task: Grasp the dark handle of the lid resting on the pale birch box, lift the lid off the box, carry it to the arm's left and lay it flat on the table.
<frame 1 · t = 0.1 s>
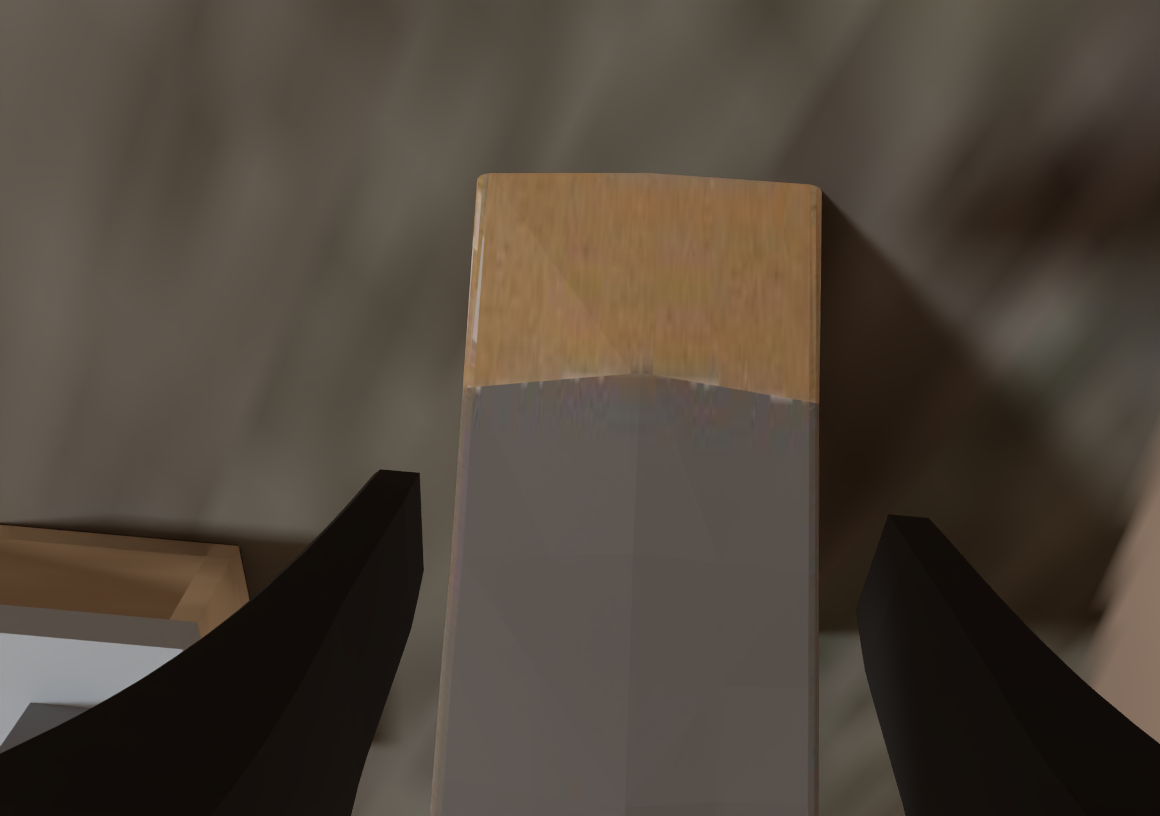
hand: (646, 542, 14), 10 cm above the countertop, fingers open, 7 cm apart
sandwich container: (634, 430, 26), on the countertop
box: (145, 642, 31), on the countertop
lid: (99, 720, 29), point 3 cm above the countertop, touching box
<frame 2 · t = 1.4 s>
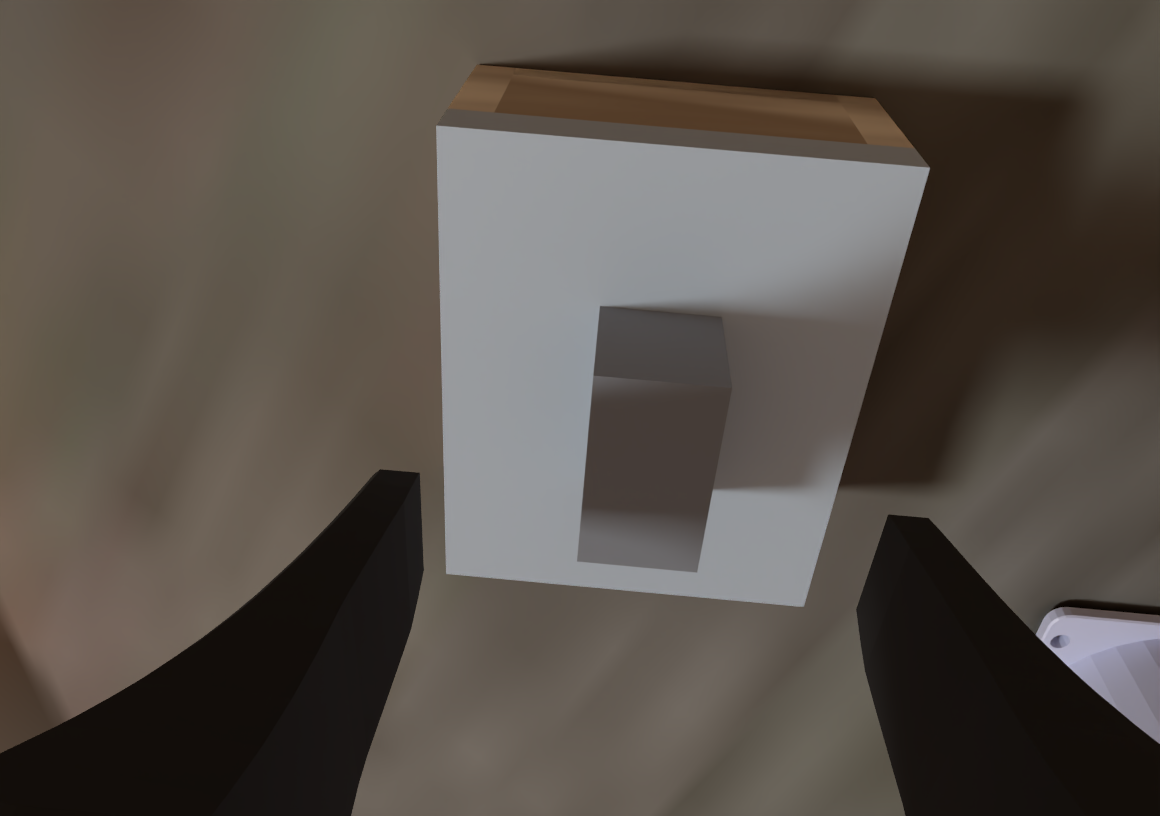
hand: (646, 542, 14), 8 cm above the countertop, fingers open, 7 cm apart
box: (648, 304, 21), on the countertop
lid: (648, 376, 18), point 3 cm above the countertop, touching box
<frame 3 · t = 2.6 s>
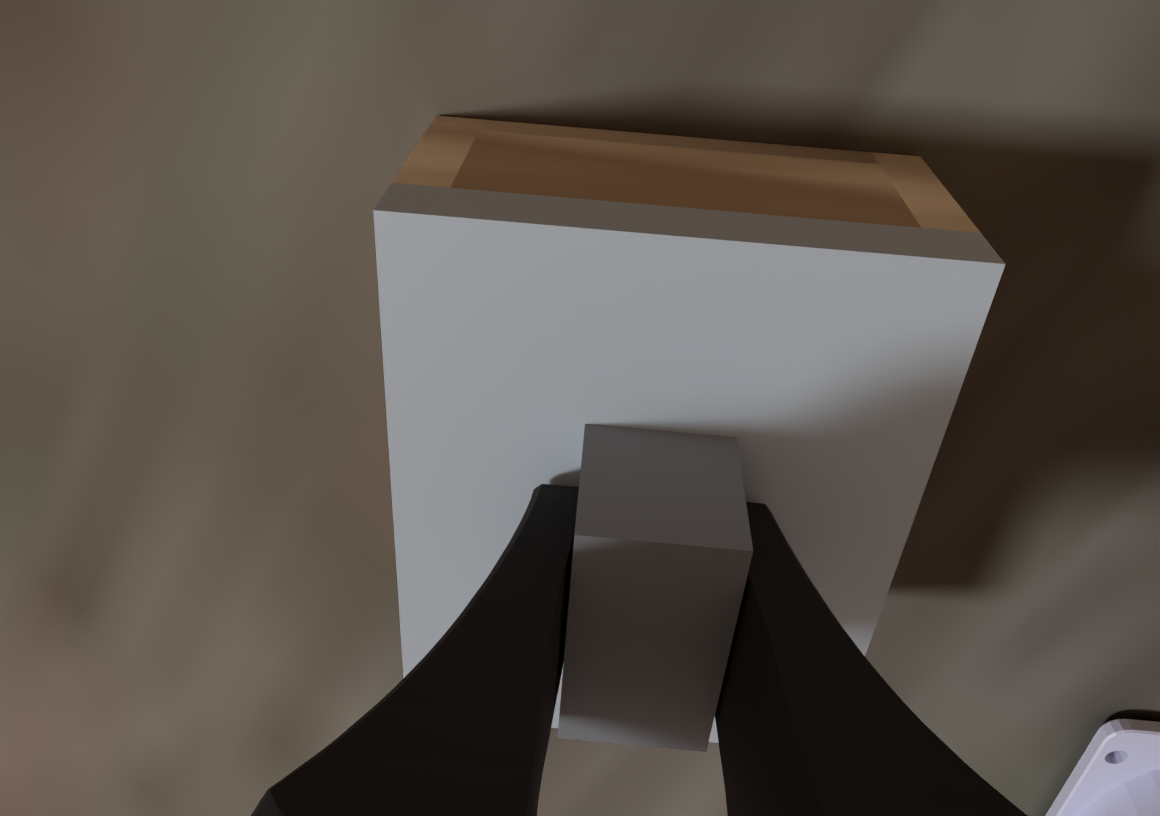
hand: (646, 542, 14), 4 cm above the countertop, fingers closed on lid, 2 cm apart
box: (645, 390, 18), on the countertop
lid: (645, 493, 15), point 3 cm above the countertop, touching box, gripper
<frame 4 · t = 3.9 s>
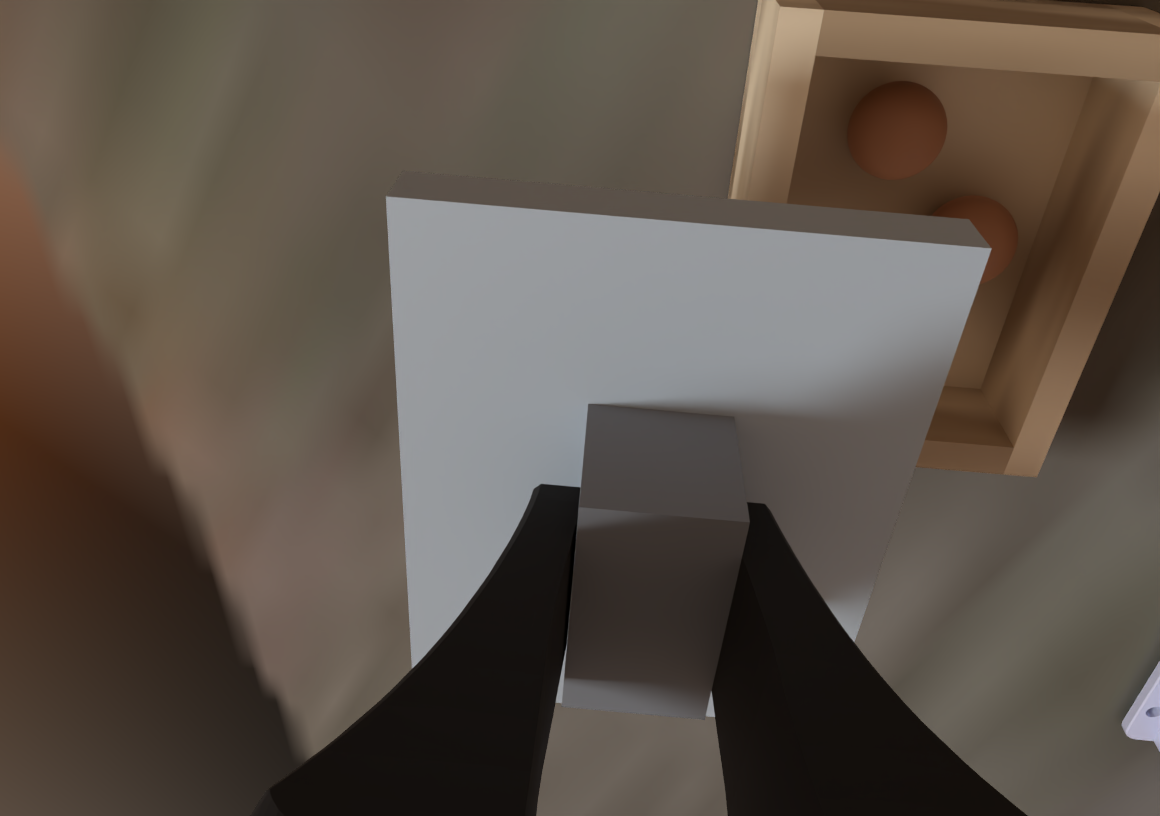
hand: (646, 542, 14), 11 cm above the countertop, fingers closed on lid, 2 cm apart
box: (892, 218, 22), on the countertop
lid: (646, 473, 16), point 9 cm above the countertop, touching gripper
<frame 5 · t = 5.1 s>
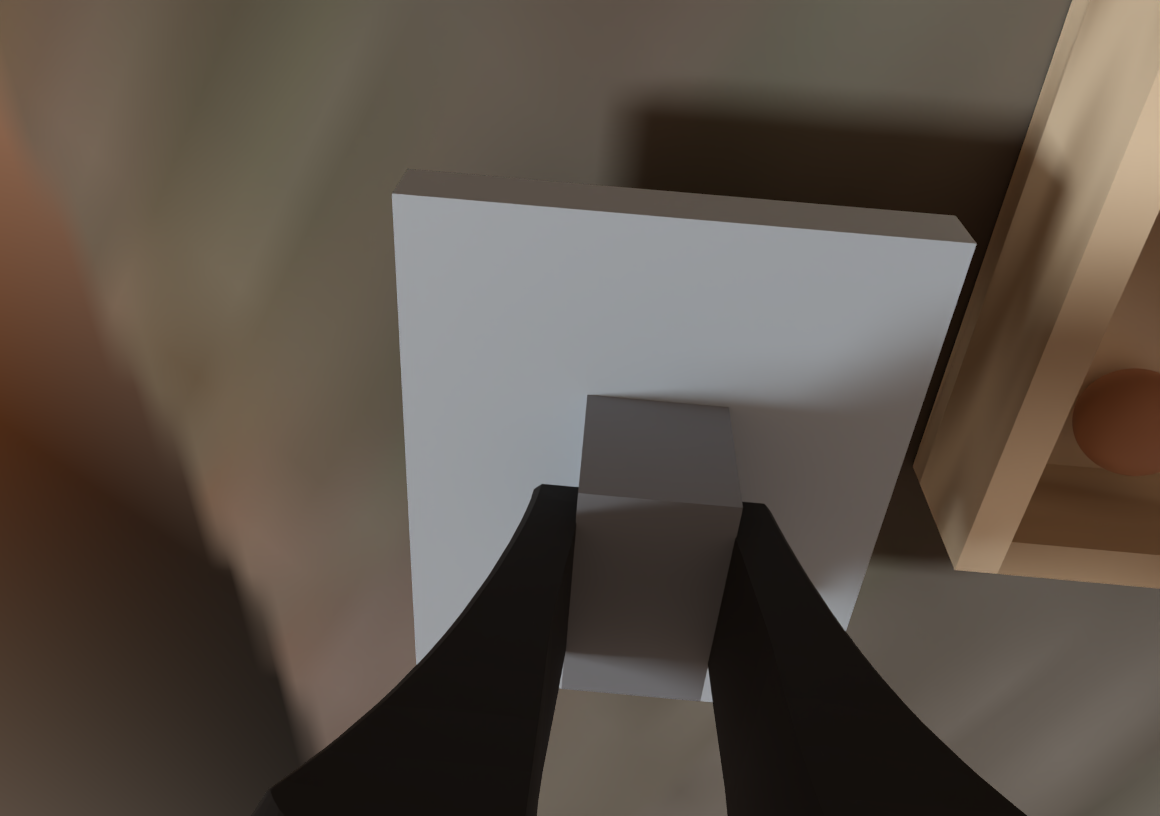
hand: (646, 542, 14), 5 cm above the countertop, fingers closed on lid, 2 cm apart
lid: (644, 463, 16), point 3 cm above the countertop, touching gripper
when the fingers open (4 cm above the countertop, at t = 5.6 s): lid drops 2 cm, on the countertop.
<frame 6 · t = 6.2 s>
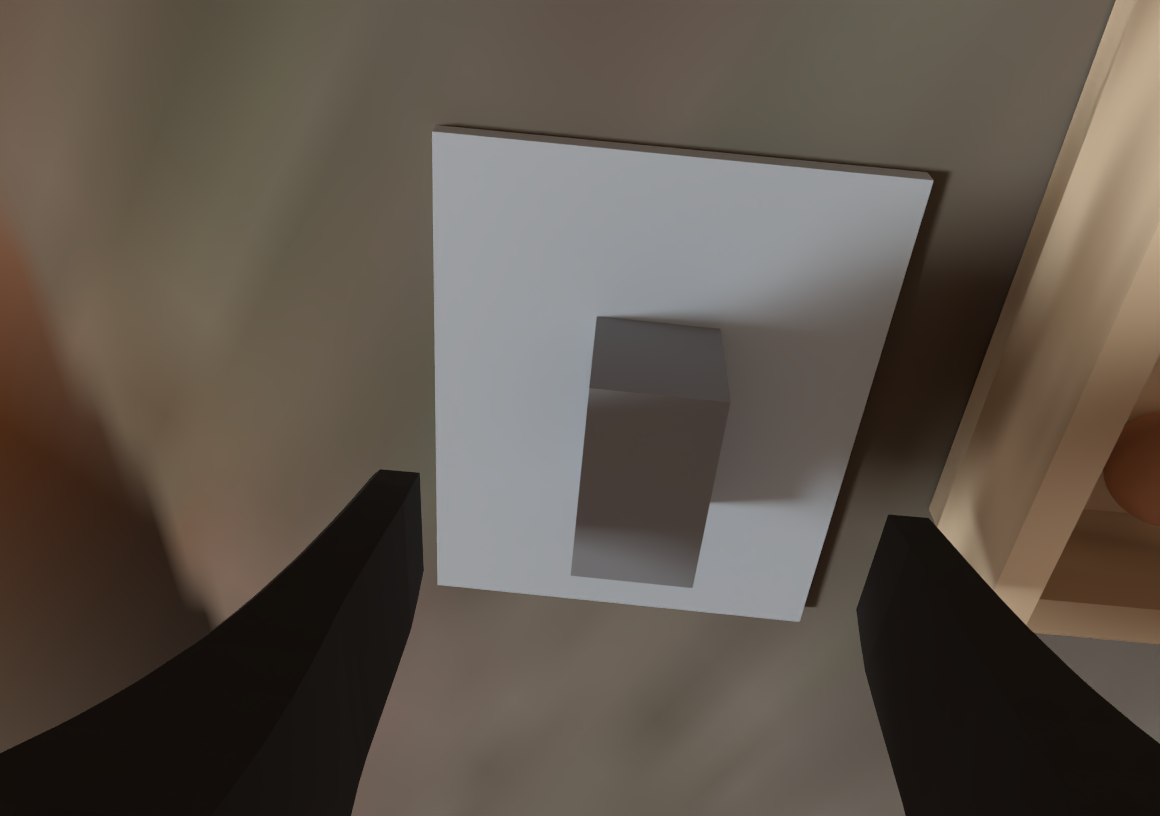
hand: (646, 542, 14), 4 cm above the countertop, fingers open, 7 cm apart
lid: (645, 387, 18), on the countertop
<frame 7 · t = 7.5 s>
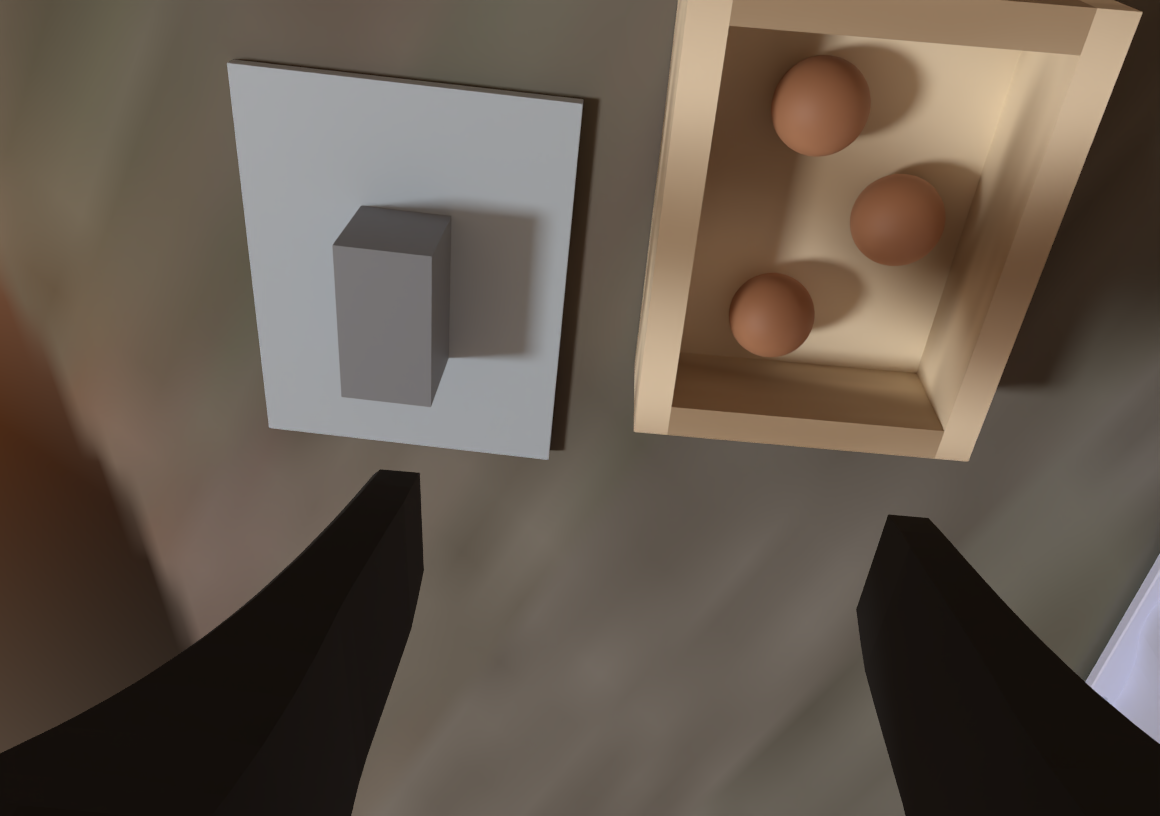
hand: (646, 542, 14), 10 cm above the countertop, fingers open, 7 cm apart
box: (824, 197, 21), on the countertop
lid: (415, 268, 24), on the countertop
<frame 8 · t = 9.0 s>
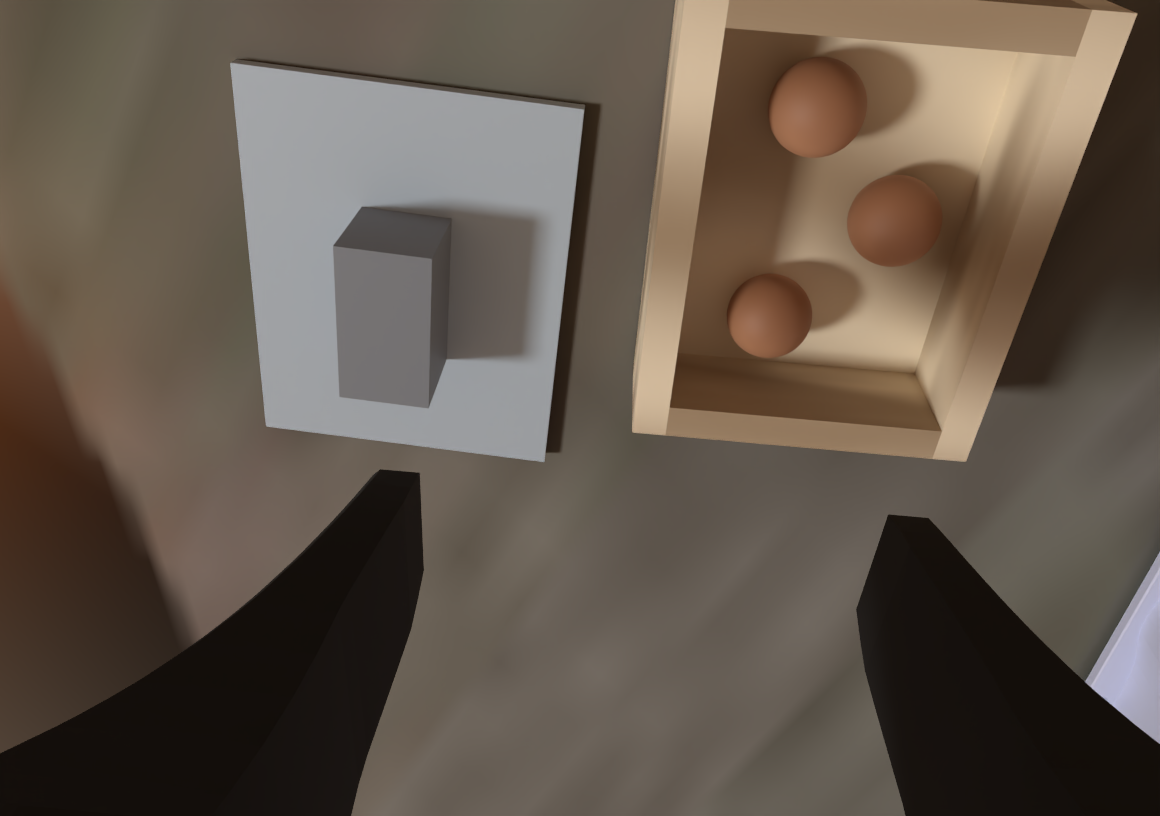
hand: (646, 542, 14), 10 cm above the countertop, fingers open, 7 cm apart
box: (821, 198, 21), on the countertop
lid: (414, 270, 24), on the countertop
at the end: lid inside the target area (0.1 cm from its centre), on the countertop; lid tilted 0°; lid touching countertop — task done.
